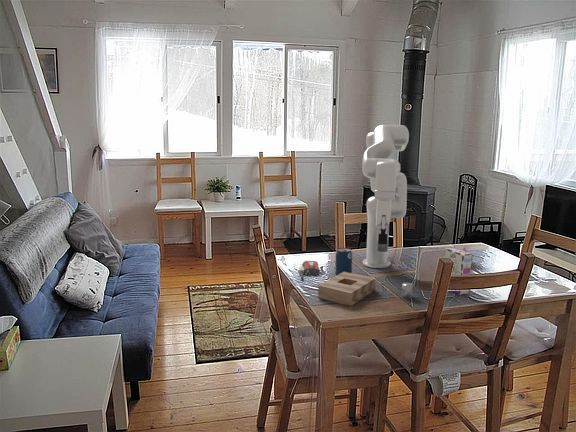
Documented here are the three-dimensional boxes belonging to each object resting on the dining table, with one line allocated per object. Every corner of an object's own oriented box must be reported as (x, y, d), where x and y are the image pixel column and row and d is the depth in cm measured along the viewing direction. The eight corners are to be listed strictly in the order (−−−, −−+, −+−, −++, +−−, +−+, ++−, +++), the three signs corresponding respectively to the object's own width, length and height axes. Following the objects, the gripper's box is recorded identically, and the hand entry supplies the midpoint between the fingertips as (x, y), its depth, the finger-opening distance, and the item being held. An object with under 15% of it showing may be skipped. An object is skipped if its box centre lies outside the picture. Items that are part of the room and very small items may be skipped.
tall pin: (379, 248, 203) (380, 220, 201) (389, 250, 201) (390, 221, 199) (375, 250, 200) (376, 222, 197) (385, 252, 198) (386, 223, 195)
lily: (469, 261, 250) (460, 243, 251) (485, 259, 239) (476, 239, 240) (450, 272, 246) (441, 253, 247) (466, 270, 235) (456, 250, 236)
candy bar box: (470, 294, 206) (473, 253, 202) (459, 295, 204) (463, 255, 200) (451, 284, 216) (454, 246, 212) (441, 286, 214) (444, 247, 211)
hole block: (343, 283, 217) (344, 271, 216) (374, 290, 209) (375, 278, 208) (318, 297, 201) (318, 285, 200) (350, 306, 193) (351, 293, 192)
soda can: (354, 277, 224) (355, 250, 221) (341, 280, 220) (342, 252, 217) (345, 273, 229) (345, 246, 227) (331, 275, 226) (332, 248, 223)
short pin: (403, 294, 205) (404, 281, 204) (413, 296, 203) (414, 284, 202) (399, 297, 202) (400, 284, 201) (409, 299, 200) (410, 287, 199)
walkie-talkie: (298, 266, 239) (299, 281, 220) (298, 257, 238) (299, 271, 219) (317, 266, 239) (320, 281, 220) (317, 257, 238) (320, 271, 219)
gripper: (375, 190, 204) (373, 236, 208) (374, 198, 188) (371, 247, 192) (394, 191, 203) (392, 237, 207) (395, 199, 187) (392, 249, 191)
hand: (382, 241), depth 200 cm, fingers closed on tall pin, 4 cm apart
